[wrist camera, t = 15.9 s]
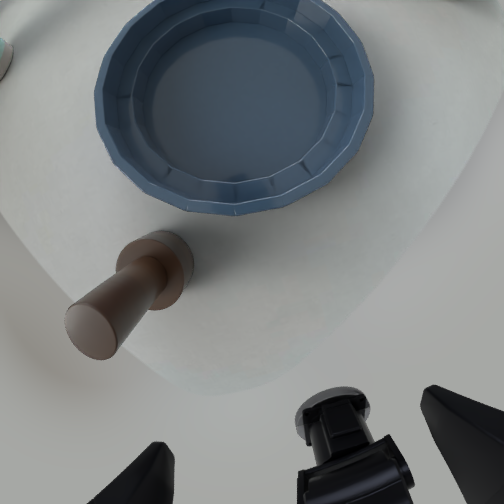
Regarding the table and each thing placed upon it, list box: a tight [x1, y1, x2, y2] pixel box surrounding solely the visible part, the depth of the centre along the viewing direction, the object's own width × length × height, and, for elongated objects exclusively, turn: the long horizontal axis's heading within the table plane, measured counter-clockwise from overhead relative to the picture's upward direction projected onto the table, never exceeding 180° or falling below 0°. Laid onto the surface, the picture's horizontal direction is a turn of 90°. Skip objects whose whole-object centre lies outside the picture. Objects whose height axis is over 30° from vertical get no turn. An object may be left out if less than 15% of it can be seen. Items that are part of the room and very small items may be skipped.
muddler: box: [65, 231, 194, 360], centre depth 13 cm, size 4×4×10 cm
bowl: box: [94, 0, 374, 216], centre depth 13 cm, size 15×15×4 cm
